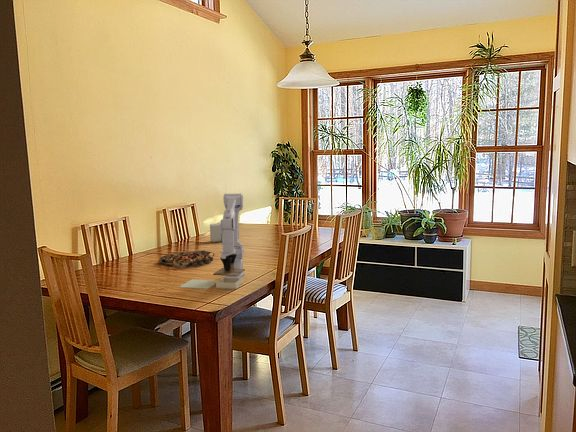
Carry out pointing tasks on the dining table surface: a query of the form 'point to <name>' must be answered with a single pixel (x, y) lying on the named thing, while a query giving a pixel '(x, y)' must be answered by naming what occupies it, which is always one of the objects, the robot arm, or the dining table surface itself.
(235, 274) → the lid
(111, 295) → the dining table surface
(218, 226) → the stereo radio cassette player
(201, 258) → the food dish
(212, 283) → the beige flat square piece
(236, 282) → the white square tray
